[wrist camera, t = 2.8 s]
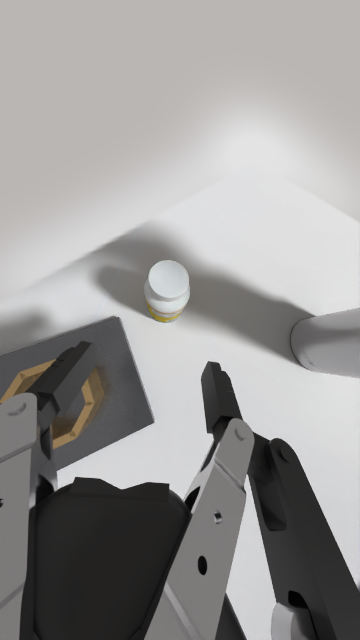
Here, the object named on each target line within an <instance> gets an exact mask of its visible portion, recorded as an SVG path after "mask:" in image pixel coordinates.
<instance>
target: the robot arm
mask: <svg viewBox="0 0 360 640" xmlns="http://www.w3.org/2000/svg"><path fill="white" fill-rule="evenodd" d="M291 346H292V350H293V353H294V355H295V357H296V358H297V360H298V361H299V362H300V363H301V364H302V365H303V366H304V367H305V368H307V369H309V370H311V371H315V372H320V373H327V374H334V375H341V376H347V377H354V378H360V308H356V309H351V310H347V311H342V312H337V313H332V314H327V315H322V316H317V317H312V318H307V319H303V320H301V321H299V322H298V323H297V324H296V325H295V327H294V328H293V330H292V334H291ZM96 363H97V350H96V344H95V342H89V341H81V342H80V343H79V344H78V345H77V346H76V347H70V348H69V349H67V350H65V351H64V352H62V353H61V354H60V355H59V357H58V358H57V359H56V361H54V362H53V363H52V364H51V366H49V367H48V368H47V369H46V370H45V371H44V372H43V373H42V375H41V376H40V377H39V378H38V379H37V380H36V381H35V382H34V383H33V384H32V385H31V386H30V387H29V388H28V389H27V390H26V391H25V392H24V393H21V394H18V395H15V396H13V397H11V398H9V399H7V400H6V401H4V402H3V403H0V640H247V639H246V637H245V635H244V632H243V630H242V628H241V626H240V623H239V621H238V619H237V616H236V614H235V612H234V610H233V607H232V605H231V603H230V601H229V598H228V596H227V594H226V587H227V583H228V578H229V574H230V570H231V565H232V561H233V556H234V552H235V547H236V543H237V538H238V534H239V530H240V525H241V521H242V516H243V512H244V507H245V503H246V491H245V490H244V482H245V478H246V474H248V477H249V481H250V486H251V490H252V495H253V499H254V504H255V508H256V513H257V517H258V521H259V526H260V530H261V535H262V539H263V544H264V548H265V553H266V557H267V562H268V566H269V571H270V575H271V580H272V584H273V589H274V593H275V598H276V602H277V604H276V605H275V607H274V609H273V613H272V620H271V637H272V640H360V593H359V591H358V588H357V586H356V584H355V582H354V580H353V578H352V575H351V573H350V571H349V569H348V567H347V564H346V562H345V560H344V558H343V556H342V553H341V551H340V549H339V547H338V545H337V542H336V540H335V538H334V536H333V534H332V531H331V529H330V527H329V525H328V523H327V520H326V518H325V516H324V514H323V512H322V509H321V507H320V505H319V503H318V501H317V499H316V496H315V494H314V492H313V490H312V488H311V485H310V483H309V481H308V479H307V477H306V474H305V472H304V470H303V468H302V466H301V463H300V461H299V459H298V457H297V455H296V453H295V452H294V450H293V449H292V448H291V447H290V445H288V444H287V443H286V442H285V441H283V440H281V439H279V438H274V439H273V440H271V441H270V440H268V439H266V438H264V437H262V436H260V435H258V434H256V433H254V432H253V431H252V430H251V428H250V427H249V426H248V425H247V423H245V422H244V421H243V419H242V416H241V413H240V410H239V406H238V403H237V400H236V397H235V393H234V390H233V387H232V384H231V380H230V378H229V376H228V375H227V373H226V372H225V371H221V367H220V364H219V363H217V362H210V361H208V363H207V365H206V367H205V369H204V371H203V373H202V377H201V384H202V393H203V401H204V410H205V418H206V427H207V433H211V434H213V438H214V440H213V442H212V444H211V446H210V448H209V450H208V452H207V455H206V457H205V459H204V461H203V463H202V465H201V467H200V469H199V471H198V473H197V475H196V477H195V478H194V480H193V481H192V483H191V485H190V487H189V489H188V491H187V493H186V495H185V497H184V499H183V500H182V499H181V498H180V497H179V496H178V495H177V494H176V493H175V492H173V491H172V490H170V489H169V484H166V483H152V482H146V483H143V484H140V485H136V486H133V487H130V488H127V489H119V488H117V487H115V486H113V485H111V484H109V483H107V482H105V481H103V480H101V479H96V478H82V477H75V479H74V482H73V483H71V484H69V485H66V486H64V487H62V488H60V489H58V481H57V472H56V468H55V464H54V456H53V436H52V421H53V420H54V418H55V417H56V416H63V417H64V416H65V414H66V412H67V411H68V409H69V408H70V406H71V404H72V403H73V401H74V399H75V398H76V396H77V395H78V393H79V391H80V390H81V388H82V387H83V385H84V383H85V382H86V380H87V378H88V377H89V375H90V374H91V372H92V370H93V369H94V367H95V365H96Z"/></svg>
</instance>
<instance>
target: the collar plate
mask: <svg viewBox="0 0 360 640" xmlns="http://www.w3.org/2000/svg"><path fill="white" fill-rule="evenodd" d="M81 341H89V342H95V344H96V350H97V363H96V365H95V367H94V369H93V370H92V372H91V374H90V375H89V377H88V378H87V380H86V382H85V383H84V385H83V387H82V388H81V390H80V391H79V393H78V395H77V396H76V398H75V399H74V401H73V403H72V404H71V406H70V408H69V409H68V411H67V412H66V414H65V416H64V417H63V416H56V417H55V418H54V420H53V421H52V436H53V456H54V464H55V468H56V471H58V470H60V469H62V468H64V467H66V466H68V465H70V464H72V463H74V462H76V461H78V460H80V459H82V458H84V457H86V456H88V455H90V454H92V453H94V452H96V451H98V450H100V449H102V448H104V447H106V446H108V445H110V444H112V443H114V442H116V441H118V440H120V439H122V438H124V437H126V436H128V435H130V434H132V433H134V432H136V431H138V430H140V429H142V428H144V427H146V426H148V425H150V424H153V423H154V416H153V413H152V410H151V407H150V404H149V401H148V398H147V395H146V392H145V389H144V386H143V384H142V381H141V378H140V375H139V372H138V369H137V366H136V363H135V360H134V357H133V354H132V351H131V348H130V345H129V342H128V339H127V336H126V333H125V330H124V327H123V324H122V322H121V319H120V318H119V317H117V318H114V319H111V320H108V321H105V322H102V323H99V324H96V325H93V326H90V327H87V328H84V329H81V330H78V331H75V332H72V333H69V334H66V335H63V336H60V337H57V338H54V339H51V340H48V341H45V342H42V343H39V344H36V345H33V346H30V347H27V348H24V349H21V350H18V351H15V352H12V353H9V354H6V355H3V356H0V403H3V402H4V401H6V400H7V399H9V398H11V397H13V396H15V395H18V394H21V393H24V392H25V391H26V390H27V389H28V388H29V387H30V386H31V385H32V384H33V383H34V382H35V381H36V380H37V379H38V378H39V377H40V376H41V375H42V373H43V372H44V371H45V370H46V369H47V368H48V367H49V366H51V364H52V363H53V362H54V361H56V359H57V358H58V357H59V355H60V354H61V353H62V352H64V351H65V350H67V349H69V348H70V347H76V346H77V345H78V344H79V343H80V342H81Z"/></svg>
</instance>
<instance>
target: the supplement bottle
mask: <svg viewBox="0 0 360 640" xmlns="http://www.w3.org/2000/svg"><path fill="white" fill-rule="evenodd" d="M144 295H145V299H146V303H147V306H148V310H149V312H150V314H151V316H152V317H153V318H154V319H155V320H157V321H159V322H162V323H169V322H172V321H174V320H176V319H177V318H178V317H179V316H180V314H181V312H182V310H183V309H184V307H185V305H186V304H187V302H188V300H189V297H190V286H189V276H188V273H187V271H186V269H185V268H184V267H183V266H182V265H181V264H179V263H178V262H176V261H172V260H163V261H160V262H157V263H156V264H154V265H153V267H152V268H151V269H150V271H149V275H148V278H147V280H146V282H145V285H144Z"/></svg>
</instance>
